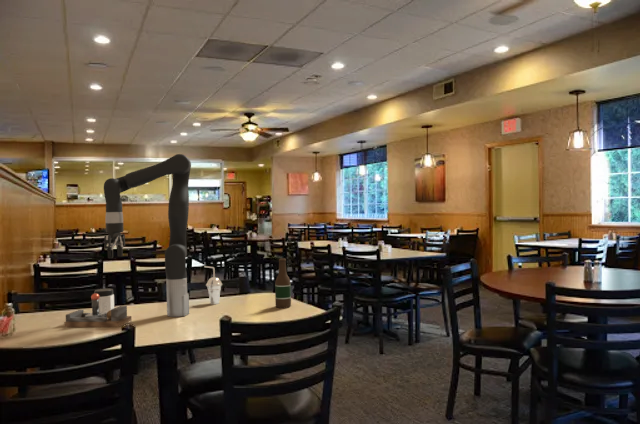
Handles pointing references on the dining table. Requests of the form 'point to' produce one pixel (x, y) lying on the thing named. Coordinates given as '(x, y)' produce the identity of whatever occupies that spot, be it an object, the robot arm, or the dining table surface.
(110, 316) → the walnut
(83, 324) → the bench
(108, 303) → the jar
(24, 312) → the dining table surface
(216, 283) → the cup with straw
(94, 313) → the red ball joystick
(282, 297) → the beer bottle
